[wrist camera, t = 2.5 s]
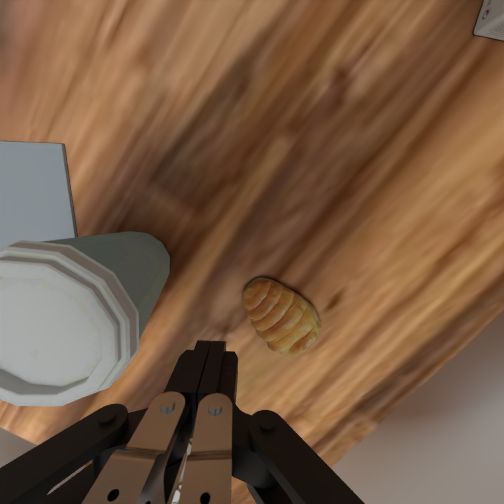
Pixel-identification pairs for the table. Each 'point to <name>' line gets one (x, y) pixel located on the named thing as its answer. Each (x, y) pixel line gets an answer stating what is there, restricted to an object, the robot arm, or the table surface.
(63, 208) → the mat
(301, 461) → the robot arm
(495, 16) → the supplement box
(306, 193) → the table surface
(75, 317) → the disposable coffee cup
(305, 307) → the pastry
